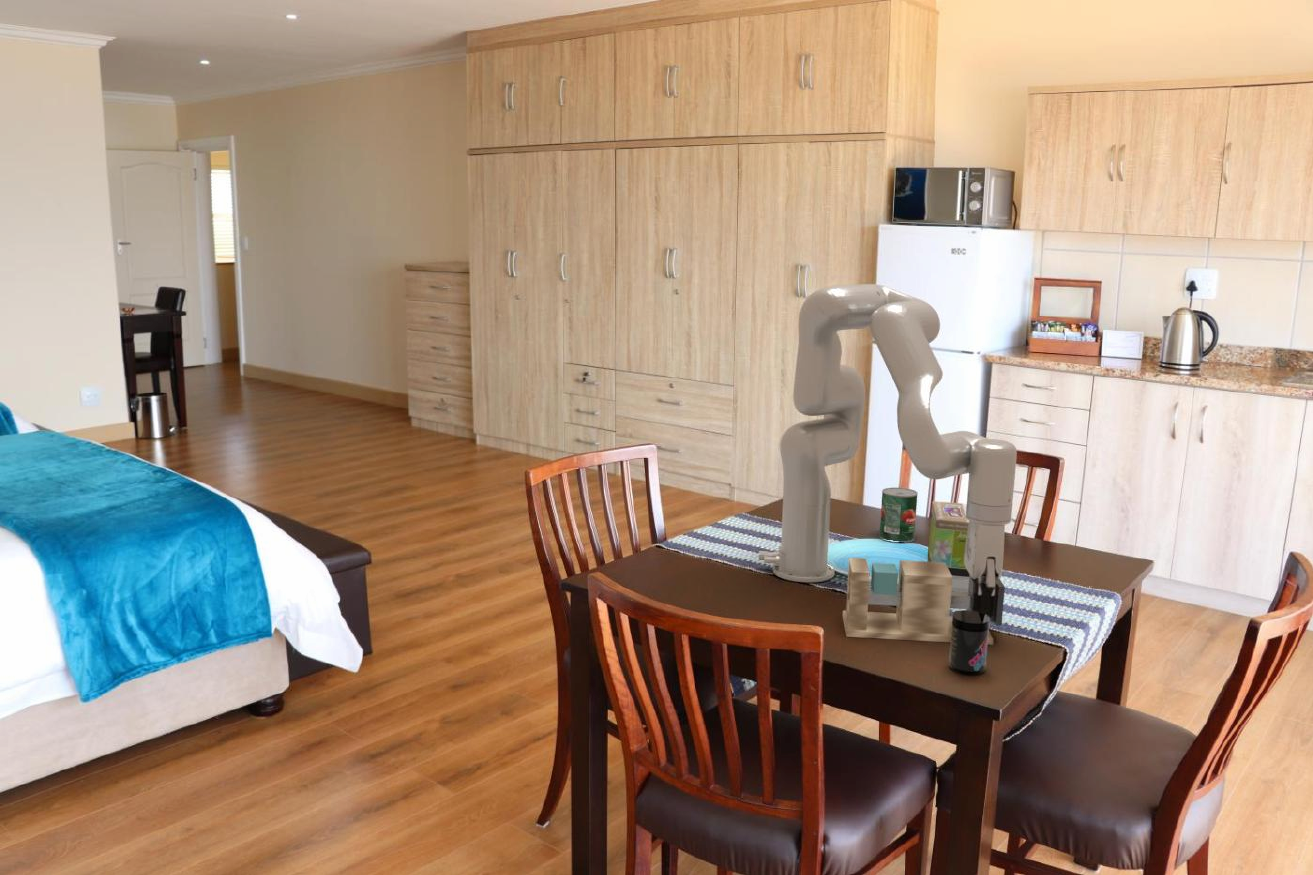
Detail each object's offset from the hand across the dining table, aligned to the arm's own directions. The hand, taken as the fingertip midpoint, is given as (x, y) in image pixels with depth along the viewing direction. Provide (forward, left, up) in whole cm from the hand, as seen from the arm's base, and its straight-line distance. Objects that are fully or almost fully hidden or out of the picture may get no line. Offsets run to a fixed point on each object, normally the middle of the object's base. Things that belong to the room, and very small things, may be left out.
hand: (980, 610), depth 190 cm
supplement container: (-5, -16, -4) cm, 17 cm away
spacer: (-17, 0, +3) cm, 17 cm away
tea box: (0, +28, -5) cm, 28 cm away
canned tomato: (-8, +56, -4) cm, 57 cm away
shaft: (-10, 0, -1) cm, 10 cm away
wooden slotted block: (-11, 0, -4) cm, 12 cm away
